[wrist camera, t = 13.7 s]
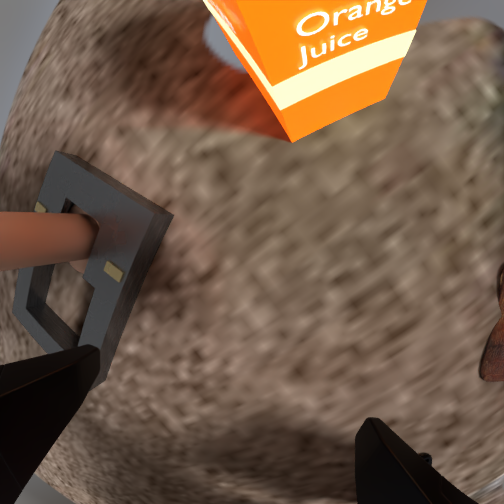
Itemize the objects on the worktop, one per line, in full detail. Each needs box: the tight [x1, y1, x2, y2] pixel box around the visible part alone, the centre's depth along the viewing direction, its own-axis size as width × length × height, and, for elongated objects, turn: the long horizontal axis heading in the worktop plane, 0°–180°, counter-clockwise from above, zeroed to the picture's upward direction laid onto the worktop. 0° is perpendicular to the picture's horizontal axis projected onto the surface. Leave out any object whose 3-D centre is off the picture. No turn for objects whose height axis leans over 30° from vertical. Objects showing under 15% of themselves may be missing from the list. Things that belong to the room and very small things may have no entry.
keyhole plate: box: [12, 151, 174, 391], centre depth 22 cm, size 17×12×3 cm
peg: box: [0, 204, 101, 274], centre depth 16 cm, size 6×6×15 cm
